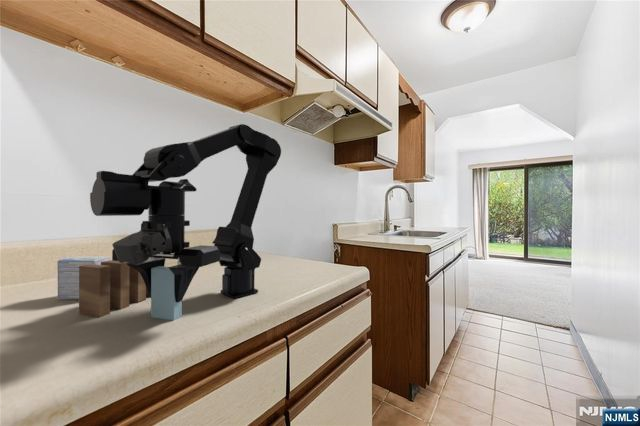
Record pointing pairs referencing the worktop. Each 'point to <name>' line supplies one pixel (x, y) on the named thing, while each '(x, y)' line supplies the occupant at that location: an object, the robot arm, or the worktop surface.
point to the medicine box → (73, 274)
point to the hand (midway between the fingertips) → (166, 300)
